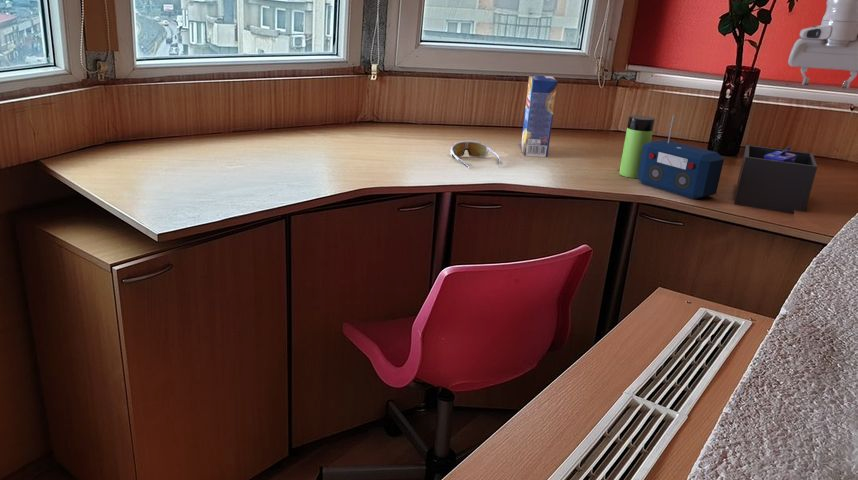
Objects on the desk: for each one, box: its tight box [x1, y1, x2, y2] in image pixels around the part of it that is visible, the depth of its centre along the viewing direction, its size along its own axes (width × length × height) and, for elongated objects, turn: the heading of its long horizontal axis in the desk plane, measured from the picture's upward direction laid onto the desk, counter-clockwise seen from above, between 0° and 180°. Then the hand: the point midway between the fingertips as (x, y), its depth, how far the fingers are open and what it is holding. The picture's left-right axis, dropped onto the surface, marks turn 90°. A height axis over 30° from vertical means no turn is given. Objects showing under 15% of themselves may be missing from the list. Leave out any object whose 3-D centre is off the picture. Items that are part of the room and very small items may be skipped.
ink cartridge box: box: [764, 146, 797, 163], centre depth 193 cm, size 10×6×14 cm, turn 134°
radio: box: [636, 115, 725, 200], centre depth 198 cm, size 21×9×20 cm, turn 35°
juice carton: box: [520, 74, 558, 158], centre depth 232 cm, size 12×8×24 cm, turn 176°
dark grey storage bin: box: [733, 144, 818, 214], centre depth 193 cm, size 17×18×13 cm
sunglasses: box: [449, 140, 501, 169], centre depth 220 cm, size 14×15×5 cm
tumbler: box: [618, 114, 656, 179], centre depth 212 cm, size 8×8×17 cm
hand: (824, 86), depth 193 cm, fingers open, 8 cm apart
